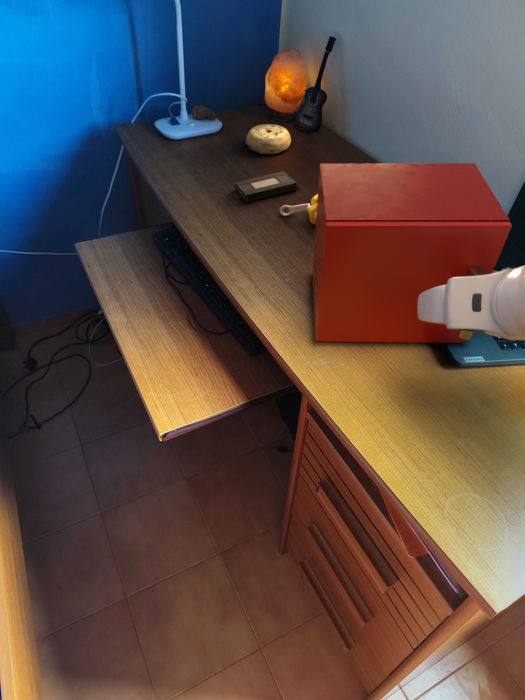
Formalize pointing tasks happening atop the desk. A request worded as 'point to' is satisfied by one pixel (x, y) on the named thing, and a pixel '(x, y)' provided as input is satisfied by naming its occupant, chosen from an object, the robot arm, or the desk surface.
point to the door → (397, 276)
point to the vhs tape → (265, 186)
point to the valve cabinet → (399, 199)
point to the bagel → (268, 139)
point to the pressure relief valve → (304, 209)
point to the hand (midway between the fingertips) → (474, 310)
